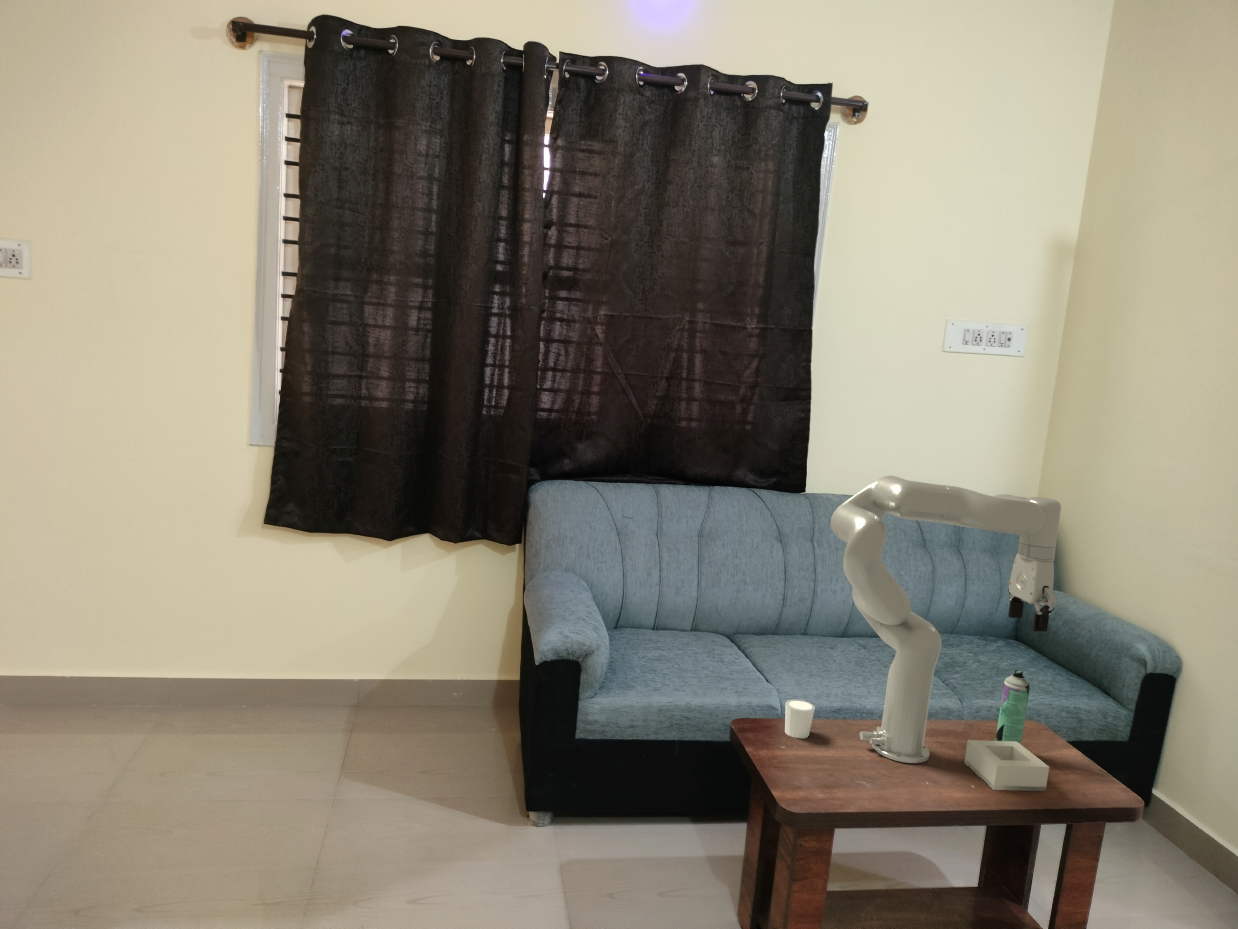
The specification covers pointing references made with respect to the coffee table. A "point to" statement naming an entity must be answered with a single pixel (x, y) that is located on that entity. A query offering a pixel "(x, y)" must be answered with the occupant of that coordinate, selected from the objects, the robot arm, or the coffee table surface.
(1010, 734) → the spray can
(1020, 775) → the can holder
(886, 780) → the coffee table surface
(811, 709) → the white cup
